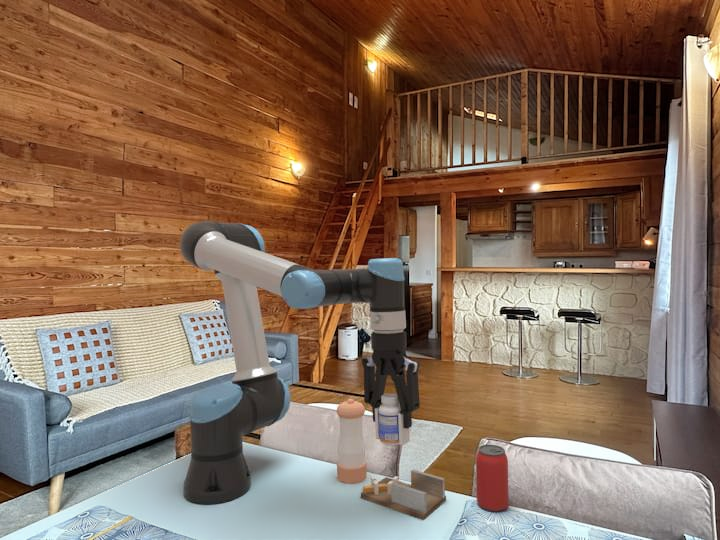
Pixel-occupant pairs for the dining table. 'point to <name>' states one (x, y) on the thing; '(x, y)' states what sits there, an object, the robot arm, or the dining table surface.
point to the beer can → (492, 478)
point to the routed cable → (379, 486)
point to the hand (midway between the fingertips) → (392, 439)
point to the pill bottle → (389, 419)
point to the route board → (386, 500)
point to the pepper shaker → (351, 443)
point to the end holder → (418, 491)
